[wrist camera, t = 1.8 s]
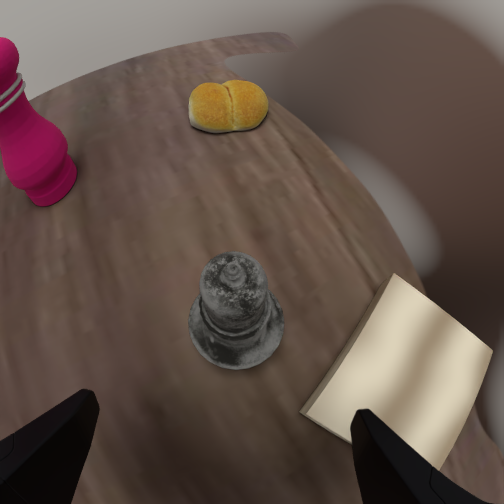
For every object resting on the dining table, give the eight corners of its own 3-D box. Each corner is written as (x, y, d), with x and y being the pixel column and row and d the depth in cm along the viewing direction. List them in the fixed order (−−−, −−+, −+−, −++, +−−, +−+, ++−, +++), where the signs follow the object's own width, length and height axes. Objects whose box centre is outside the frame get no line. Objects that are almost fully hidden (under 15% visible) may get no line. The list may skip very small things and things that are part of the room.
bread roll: (275, 131, 31) (278, 102, 28) (192, 141, 30) (188, 112, 26) (258, 90, 35) (259, 65, 31) (186, 99, 33) (183, 73, 30)
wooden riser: (475, 356, 20) (492, 350, 18) (414, 478, 16) (430, 483, 14) (380, 284, 23) (393, 273, 21) (298, 411, 19) (306, 413, 17)
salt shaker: (265, 286, 23) (286, 186, 12) (287, 361, 21) (338, 323, 10) (189, 304, 22) (143, 215, 11) (206, 381, 20) (165, 367, 9)
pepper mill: (57, 217, 25) (-48, 53, 7) (18, 204, 26) (-73, 70, 8) (93, 162, 28) (26, -2, 10) (51, 155, 29) (-14, 19, 11)
